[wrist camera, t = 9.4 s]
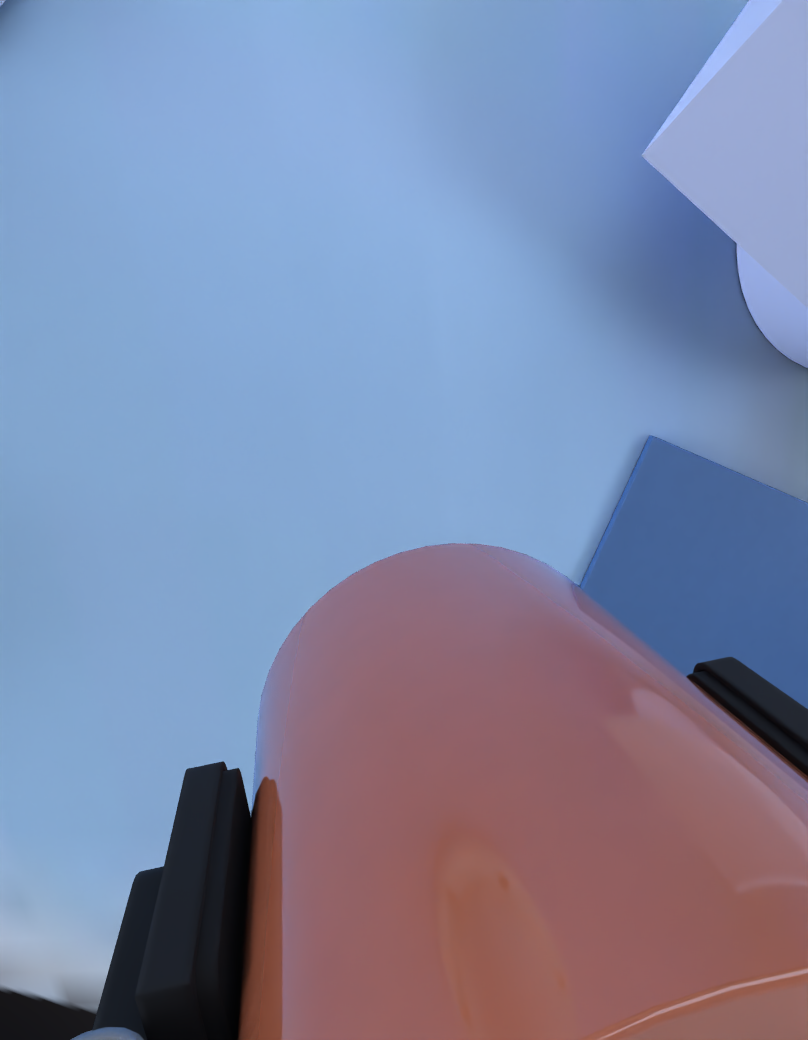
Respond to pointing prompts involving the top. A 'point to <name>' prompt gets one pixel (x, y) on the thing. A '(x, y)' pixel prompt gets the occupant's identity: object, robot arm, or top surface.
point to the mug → (511, 825)
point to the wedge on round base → (752, 160)
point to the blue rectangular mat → (708, 567)
